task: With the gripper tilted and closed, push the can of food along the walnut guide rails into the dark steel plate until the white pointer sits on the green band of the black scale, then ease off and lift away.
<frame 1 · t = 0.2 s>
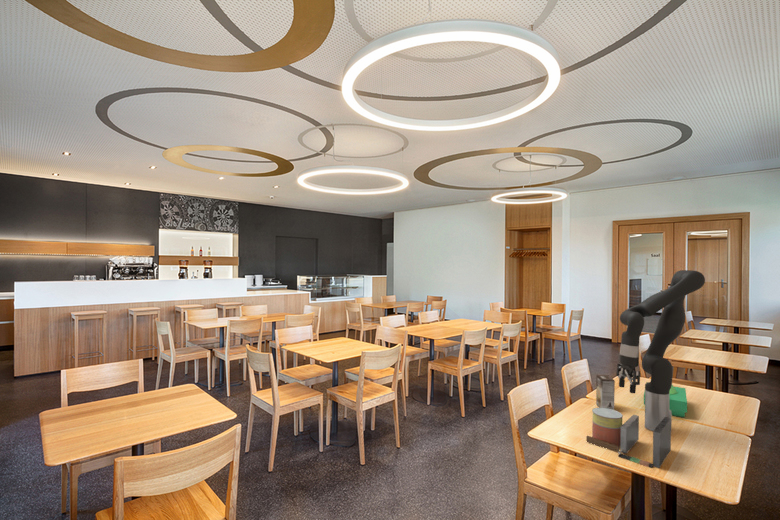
hand: (626, 390, 175), 18 cm above the table, tool pointing down, fingers open, 8 cm apart
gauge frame: (629, 447, 157), on the table
coffee box: (605, 408, 201), on the table
canned food: (607, 441, 163), on the table
steel plate: (628, 434, 156), point 6 cm above the table, slide at 0.0 cm
green box: (664, 410, 200), on the table
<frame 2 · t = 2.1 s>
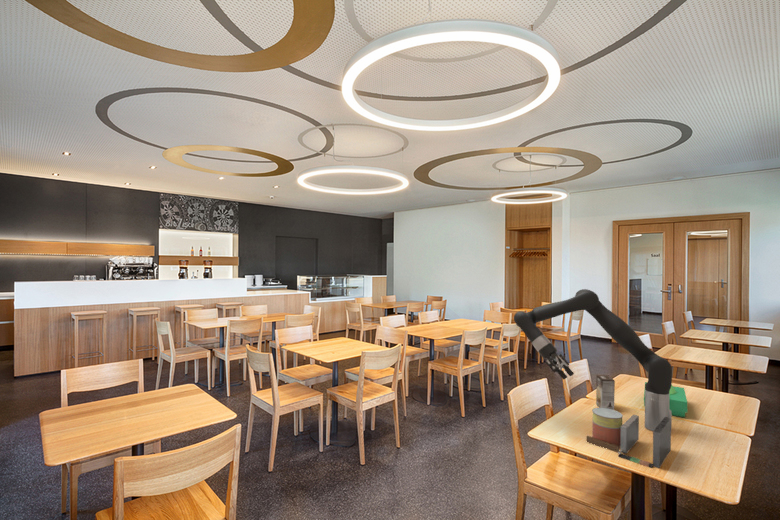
hand: (568, 376, 175), 24 cm above the table, tool tilted 45°, fingers open, 7 cm apart
nothing on the table moved.
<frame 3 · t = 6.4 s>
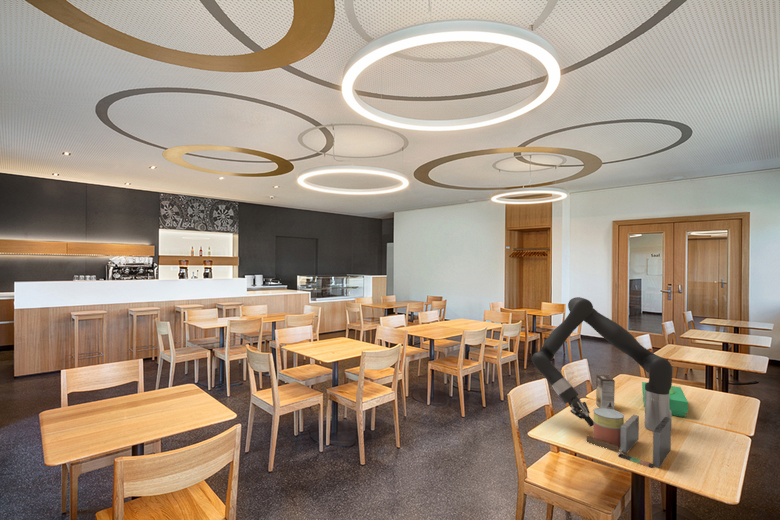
hand: (592, 425, 167), 5 cm above the table, tool tilted 45°, fingers closed
canned food: (608, 441, 163), on the table, touching gripper
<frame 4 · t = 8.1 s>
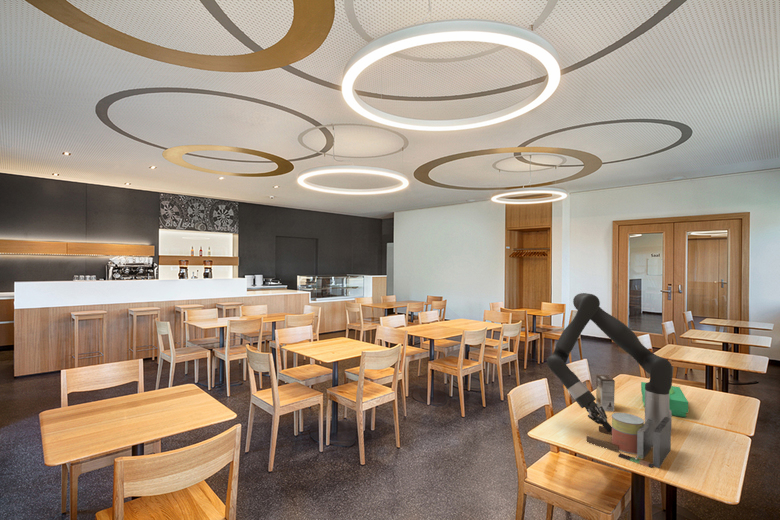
hand: (611, 430, 162), 5 cm above the table, tool tilted 45°, fingers closed
canned food: (627, 447, 157), on the table, touching gripper, steel plate
steel plate: (645, 439, 152), point 6 cm above the table, slide at 5.7 cm, touching canned food
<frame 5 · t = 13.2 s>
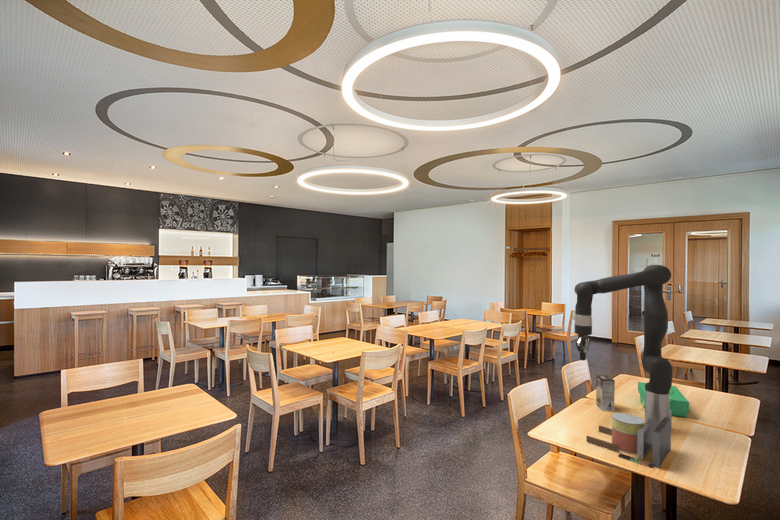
hand: (582, 360, 184), 29 cm above the table, tool pointing down, fingers closed
canned food: (627, 447, 157), on the table
steel plate: (645, 439, 152), point 6 cm above the table, slide at 5.7 cm
at the end: steel plate slide at 5.7 cm; canned food tilted 0°; canned food inside the target area on the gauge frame (0.3 cm from its centre), point 0.0 cm above the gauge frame's base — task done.
